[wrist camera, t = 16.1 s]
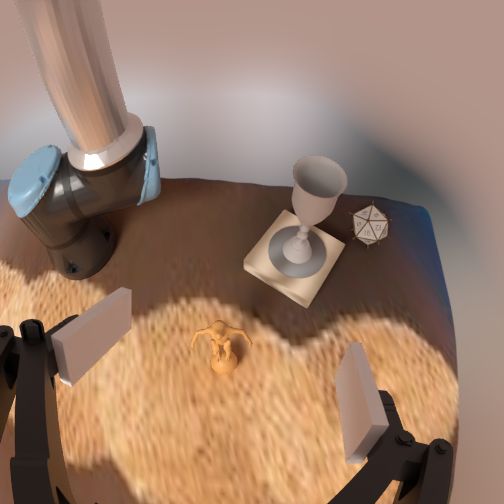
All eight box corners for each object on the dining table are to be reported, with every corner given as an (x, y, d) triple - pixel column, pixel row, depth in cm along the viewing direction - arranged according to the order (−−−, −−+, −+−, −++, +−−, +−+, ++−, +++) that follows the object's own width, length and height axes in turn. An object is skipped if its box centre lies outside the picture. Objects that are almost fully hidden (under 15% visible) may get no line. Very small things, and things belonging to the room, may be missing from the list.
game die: (352, 238, 60) (356, 192, 56) (390, 246, 56) (396, 199, 52) (341, 253, 53) (346, 200, 49) (384, 262, 49) (392, 208, 45)
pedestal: (243, 268, 52) (244, 258, 48) (282, 220, 57) (284, 207, 54) (307, 308, 48) (312, 300, 45) (340, 254, 54) (346, 243, 50)
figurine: (198, 375, 42) (184, 365, 32) (198, 339, 45) (185, 317, 35) (252, 374, 43) (255, 364, 32) (249, 338, 46) (252, 315, 35)
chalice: (278, 230, 51) (293, 152, 36) (316, 234, 51) (344, 159, 36) (276, 267, 48) (292, 194, 32) (317, 271, 47) (350, 201, 32)
